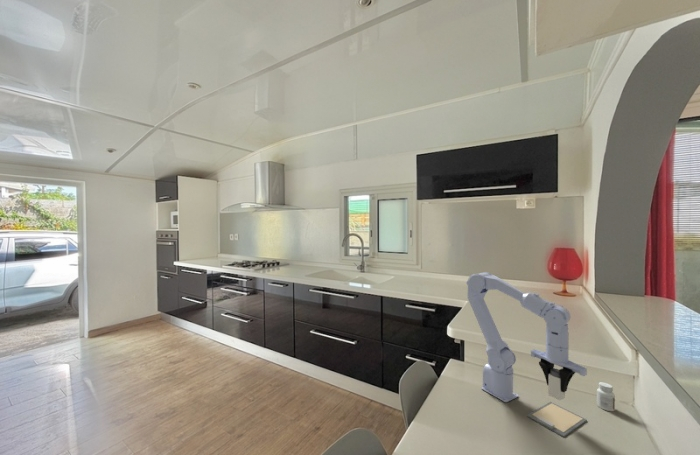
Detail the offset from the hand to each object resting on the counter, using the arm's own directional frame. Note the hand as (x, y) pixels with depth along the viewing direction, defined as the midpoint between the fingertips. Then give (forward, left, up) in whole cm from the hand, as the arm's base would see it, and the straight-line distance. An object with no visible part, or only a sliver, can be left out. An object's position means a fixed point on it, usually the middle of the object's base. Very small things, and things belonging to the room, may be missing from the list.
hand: (556, 387), depth 85 cm
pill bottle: (+5, +22, -10) cm, 25 cm away
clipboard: (0, 0, -10) cm, 10 cm away
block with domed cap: (0, 0, -3) cm, 3 cm away
